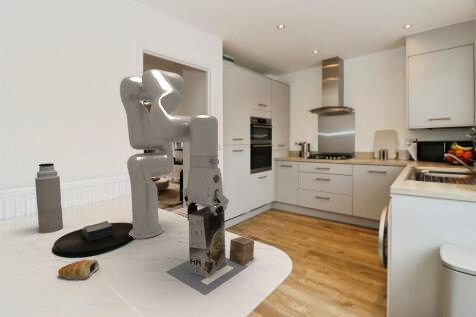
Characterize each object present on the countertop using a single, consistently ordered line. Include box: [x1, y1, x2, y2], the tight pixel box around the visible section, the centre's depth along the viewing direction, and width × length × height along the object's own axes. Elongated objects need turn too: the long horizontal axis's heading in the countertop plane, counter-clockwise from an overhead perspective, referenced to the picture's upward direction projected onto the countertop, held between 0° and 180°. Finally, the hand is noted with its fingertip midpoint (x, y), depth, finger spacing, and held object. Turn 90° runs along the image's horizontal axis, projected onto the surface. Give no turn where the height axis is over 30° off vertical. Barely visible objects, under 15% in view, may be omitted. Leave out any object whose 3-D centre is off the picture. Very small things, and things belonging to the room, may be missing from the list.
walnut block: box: [228, 236, 255, 266], centre depth 71 cm, size 5×5×6 cm
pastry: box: [57, 258, 100, 281], centre depth 65 cm, size 9×7×4 cm
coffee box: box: [188, 206, 226, 278], centre depth 66 cm, size 9×6×16 cm
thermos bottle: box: [34, 162, 64, 234], centre depth 99 cm, size 8×8×28 cm
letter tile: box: [165, 256, 248, 296], centre depth 66 cm, size 16×16×1 cm
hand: (203, 224), depth 65 cm, fingers open, 9 cm apart
